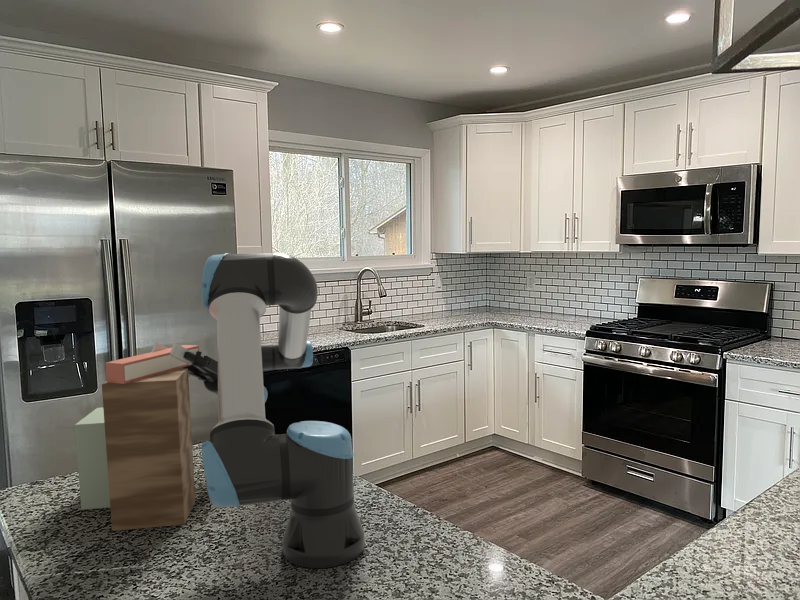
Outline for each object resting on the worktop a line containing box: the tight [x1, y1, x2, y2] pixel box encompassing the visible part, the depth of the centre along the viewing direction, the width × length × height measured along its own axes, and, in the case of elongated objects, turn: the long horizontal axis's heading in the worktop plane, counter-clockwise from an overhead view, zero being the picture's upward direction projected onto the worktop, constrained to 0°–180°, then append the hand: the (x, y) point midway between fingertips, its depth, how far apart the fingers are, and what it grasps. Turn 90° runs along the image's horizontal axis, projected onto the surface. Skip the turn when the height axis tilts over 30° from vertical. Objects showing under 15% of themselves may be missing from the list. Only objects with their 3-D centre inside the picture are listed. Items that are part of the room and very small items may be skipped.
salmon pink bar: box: [105, 344, 200, 384], centre depth 128 cm, size 22×4×4 cm, turn 159°
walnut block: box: [101, 368, 196, 532], centre depth 126 cm, size 12×14×30 cm
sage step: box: [74, 407, 110, 511], centre depth 138 cm, size 14×12×19 cm
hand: (163, 348), depth 130 cm, fingers closed on salmon pink bar, 5 cm apart
